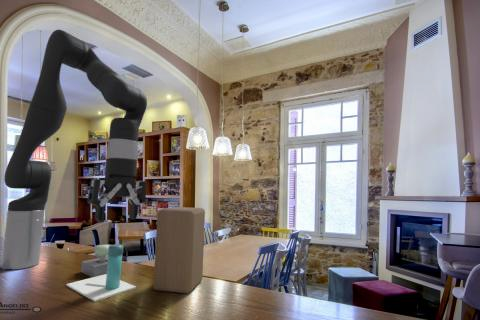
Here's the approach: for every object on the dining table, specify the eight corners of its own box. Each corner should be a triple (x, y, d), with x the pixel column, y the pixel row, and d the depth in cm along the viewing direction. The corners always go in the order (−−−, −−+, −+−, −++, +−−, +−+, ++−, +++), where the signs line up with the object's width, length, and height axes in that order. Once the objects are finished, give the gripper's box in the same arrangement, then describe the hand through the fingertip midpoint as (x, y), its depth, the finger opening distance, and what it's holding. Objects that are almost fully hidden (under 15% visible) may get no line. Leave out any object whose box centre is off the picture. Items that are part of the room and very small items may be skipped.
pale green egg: (90, 265, 76) (92, 246, 77) (105, 262, 80) (106, 243, 81) (97, 268, 74) (99, 248, 75) (112, 264, 77) (114, 245, 78)
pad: (66, 285, 65) (66, 283, 65) (105, 275, 73) (105, 273, 73) (94, 301, 57) (95, 299, 57) (135, 288, 65) (135, 286, 65)
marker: (102, 287, 63) (106, 245, 64) (115, 283, 66) (119, 243, 67) (109, 291, 61) (113, 248, 62) (122, 286, 64) (126, 245, 65)
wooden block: (170, 277, 73) (173, 206, 75) (203, 280, 71) (206, 207, 73) (151, 291, 63) (156, 209, 66) (189, 295, 61) (192, 210, 63)
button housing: (80, 272, 76) (81, 261, 76) (107, 265, 82) (108, 256, 83) (93, 277, 71) (94, 266, 72) (121, 270, 78) (122, 260, 78)
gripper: (138, 161, 75) (134, 217, 74) (86, 155, 64) (80, 221, 62) (154, 160, 71) (149, 219, 69) (101, 154, 60) (95, 225, 58)
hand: (117, 220), depth 66 cm, fingers open, 8 cm apart
